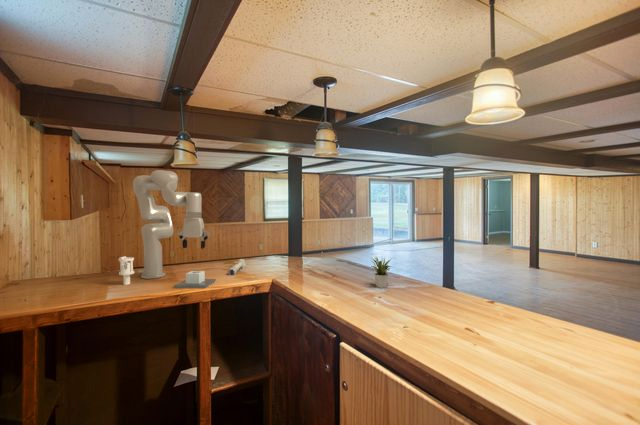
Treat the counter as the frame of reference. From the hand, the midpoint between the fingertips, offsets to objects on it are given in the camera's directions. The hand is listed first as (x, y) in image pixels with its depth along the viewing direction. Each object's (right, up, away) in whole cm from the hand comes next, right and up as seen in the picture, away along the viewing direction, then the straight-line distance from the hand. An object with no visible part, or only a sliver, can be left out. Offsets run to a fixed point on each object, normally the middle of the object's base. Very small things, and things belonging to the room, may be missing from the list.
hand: (193, 248), depth 168 cm
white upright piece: (-36, -20, +1) cm, 41 cm away
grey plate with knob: (+2, -19, -2) cm, 19 cm away
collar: (+1, -18, -2) cm, 18 cm away
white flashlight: (+14, -19, +34) cm, 41 cm away
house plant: (+96, -19, -8) cm, 99 cm away
